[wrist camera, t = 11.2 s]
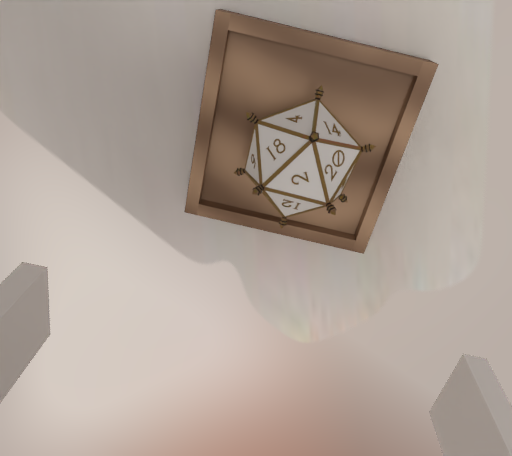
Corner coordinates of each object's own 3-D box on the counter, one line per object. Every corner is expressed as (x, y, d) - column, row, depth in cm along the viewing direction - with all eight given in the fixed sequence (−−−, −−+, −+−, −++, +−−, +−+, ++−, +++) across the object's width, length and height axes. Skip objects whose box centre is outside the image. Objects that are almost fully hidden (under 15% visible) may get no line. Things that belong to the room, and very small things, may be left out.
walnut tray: (220, 8, 30) (215, 9, 28) (429, 60, 31) (438, 64, 29) (190, 200, 37) (184, 212, 35) (360, 240, 38) (363, 253, 36)
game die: (296, 105, 35) (324, 33, 25) (366, 185, 35) (422, 142, 25) (210, 173, 34) (205, 124, 24) (281, 257, 33) (306, 242, 23)
